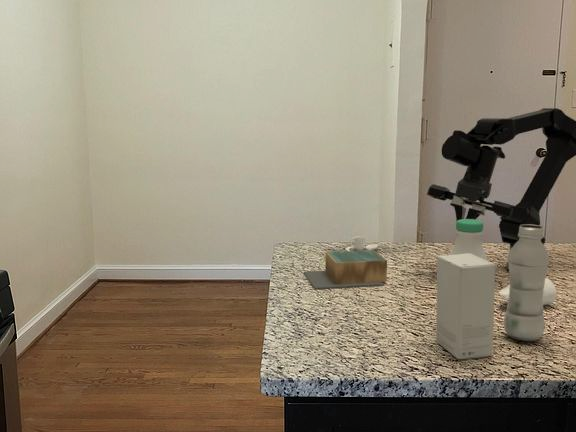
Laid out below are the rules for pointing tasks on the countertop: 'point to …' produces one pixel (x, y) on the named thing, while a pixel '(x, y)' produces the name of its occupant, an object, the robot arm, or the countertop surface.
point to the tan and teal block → (356, 267)
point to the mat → (324, 281)
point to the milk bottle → (469, 238)
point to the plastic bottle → (526, 285)
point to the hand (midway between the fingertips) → (458, 237)
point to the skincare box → (465, 305)
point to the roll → (548, 292)
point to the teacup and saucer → (361, 244)
